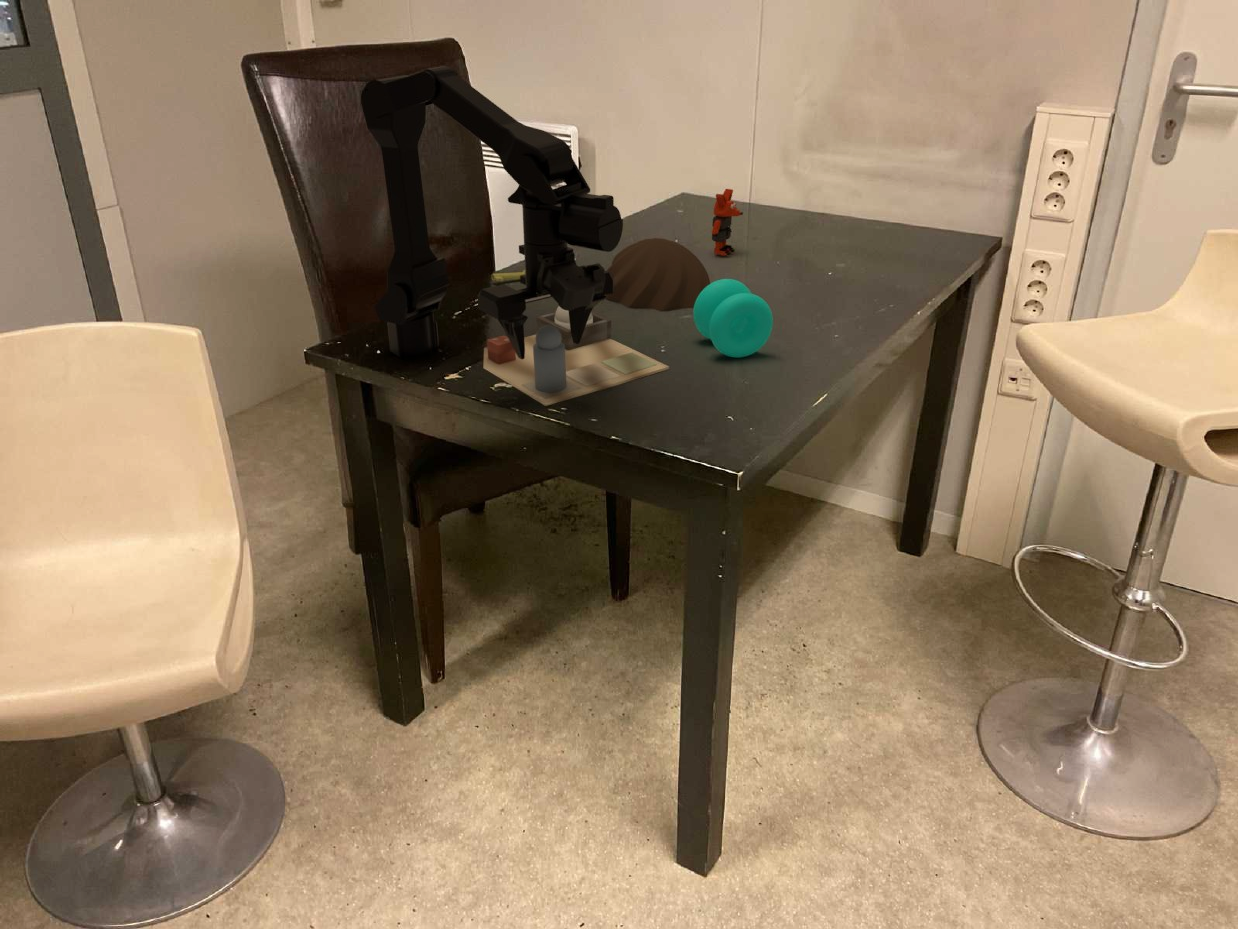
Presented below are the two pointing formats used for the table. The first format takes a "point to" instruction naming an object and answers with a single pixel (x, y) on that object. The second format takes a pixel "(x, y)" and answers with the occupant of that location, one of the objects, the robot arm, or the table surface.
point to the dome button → (567, 318)
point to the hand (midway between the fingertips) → (549, 350)
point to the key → (507, 276)
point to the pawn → (549, 360)
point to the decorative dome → (657, 276)
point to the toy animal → (723, 222)
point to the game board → (571, 361)
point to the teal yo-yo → (733, 318)
